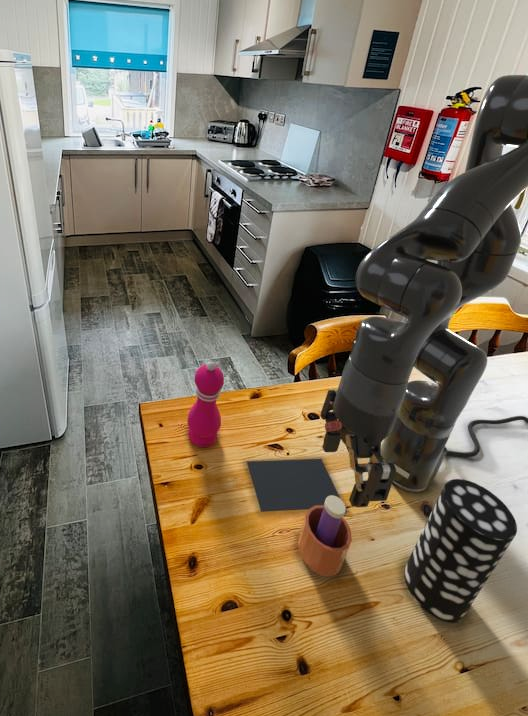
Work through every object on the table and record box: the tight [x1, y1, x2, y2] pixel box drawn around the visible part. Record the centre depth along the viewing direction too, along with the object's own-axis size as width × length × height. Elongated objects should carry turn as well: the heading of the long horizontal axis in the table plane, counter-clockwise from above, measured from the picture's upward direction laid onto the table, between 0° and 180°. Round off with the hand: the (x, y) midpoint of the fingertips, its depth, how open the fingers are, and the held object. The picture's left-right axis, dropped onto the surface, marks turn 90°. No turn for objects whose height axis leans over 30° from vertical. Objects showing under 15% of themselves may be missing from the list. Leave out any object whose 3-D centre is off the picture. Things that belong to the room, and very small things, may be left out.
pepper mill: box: [186, 361, 225, 448], centre depth 83 cm, size 7×7×20 cm
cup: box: [297, 505, 353, 577], centre depth 65 cm, size 7×7×7 cm
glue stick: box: [315, 495, 347, 548], centre depth 64 cm, size 3×3×12 cm
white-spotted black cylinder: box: [403, 478, 518, 624], centre depth 58 cm, size 8×8×20 cm
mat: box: [246, 458, 341, 512], centre depth 77 cm, size 16×10×1 cm, turn 95°
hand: (342, 475), depth 59 cm, fingers open, 8 cm apart
